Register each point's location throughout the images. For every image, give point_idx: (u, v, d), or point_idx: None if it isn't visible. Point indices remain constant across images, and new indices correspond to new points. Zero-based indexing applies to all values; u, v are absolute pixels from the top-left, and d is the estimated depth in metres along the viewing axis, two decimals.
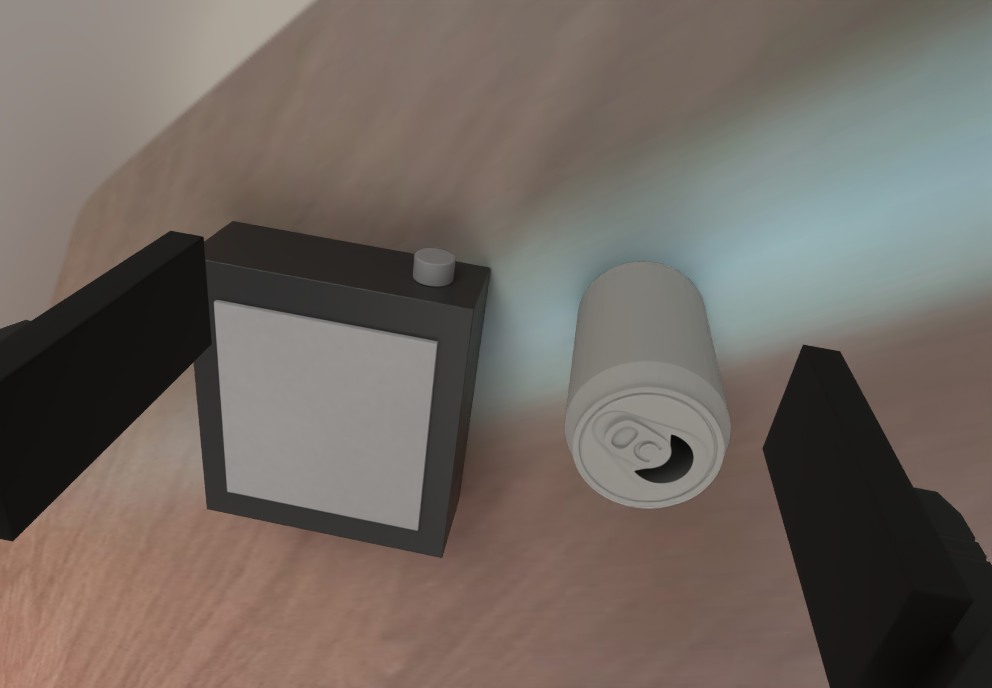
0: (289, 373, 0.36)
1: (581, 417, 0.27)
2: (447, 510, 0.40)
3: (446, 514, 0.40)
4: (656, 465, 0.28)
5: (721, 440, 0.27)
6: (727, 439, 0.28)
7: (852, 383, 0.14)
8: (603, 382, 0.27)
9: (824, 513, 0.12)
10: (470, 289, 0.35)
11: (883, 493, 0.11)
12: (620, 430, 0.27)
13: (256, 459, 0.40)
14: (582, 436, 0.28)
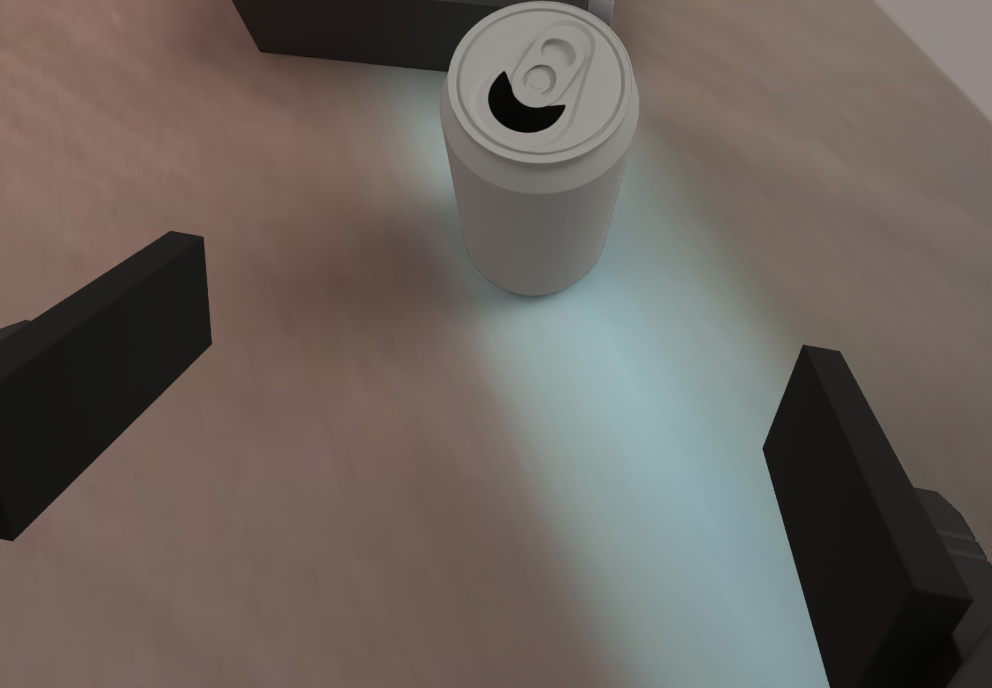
0: None
1: (578, 9, 0.23)
2: None
3: None
4: (517, 93, 0.22)
5: (565, 157, 0.21)
6: (542, 187, 0.22)
7: (852, 383, 0.14)
8: None
9: (824, 514, 0.12)
10: None
11: (883, 493, 0.11)
12: (563, 52, 0.23)
13: None
14: (549, 13, 0.23)
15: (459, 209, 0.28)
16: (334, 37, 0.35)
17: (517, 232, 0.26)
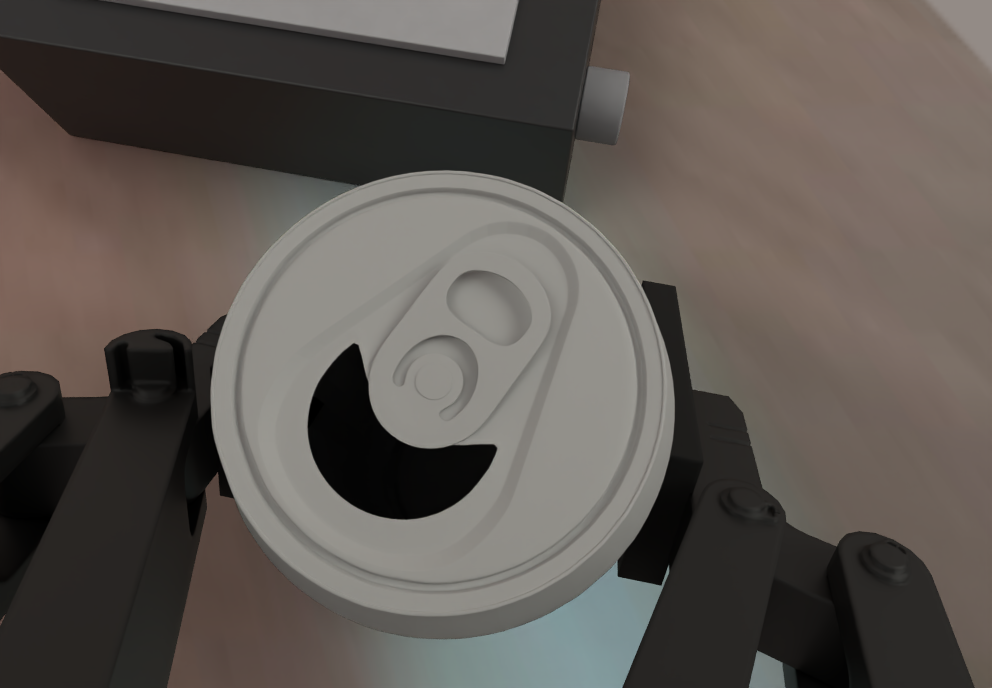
0: None
1: (545, 196, 0.10)
2: (90, 50, 0.19)
3: (80, 47, 0.19)
4: (380, 404, 0.09)
5: (485, 603, 0.08)
6: (433, 630, 0.09)
7: (674, 310, 0.16)
8: None
9: None
10: (570, 154, 0.20)
11: None
12: (502, 302, 0.09)
13: None
14: (478, 200, 0.10)
15: None
16: (173, 126, 0.22)
17: None
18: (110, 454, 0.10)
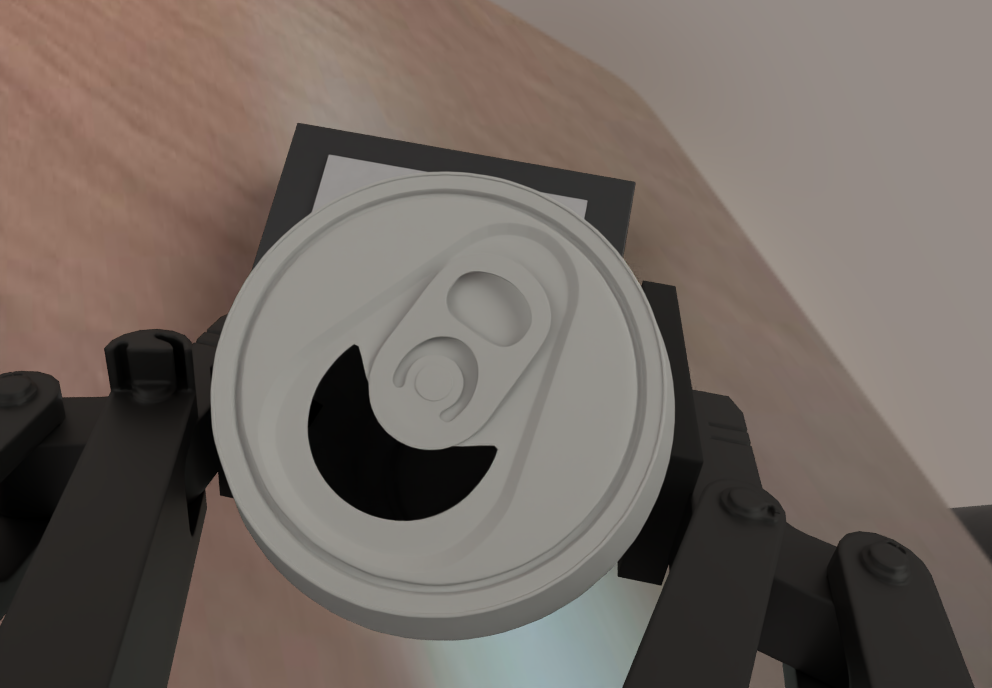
0: None
1: (545, 198, 0.10)
2: None
3: None
4: (380, 406, 0.09)
5: (485, 604, 0.08)
6: (433, 631, 0.09)
7: (674, 310, 0.16)
8: None
9: None
10: None
11: None
12: (502, 304, 0.09)
13: None
14: (478, 201, 0.10)
15: None
16: None
17: None
18: (111, 453, 0.10)
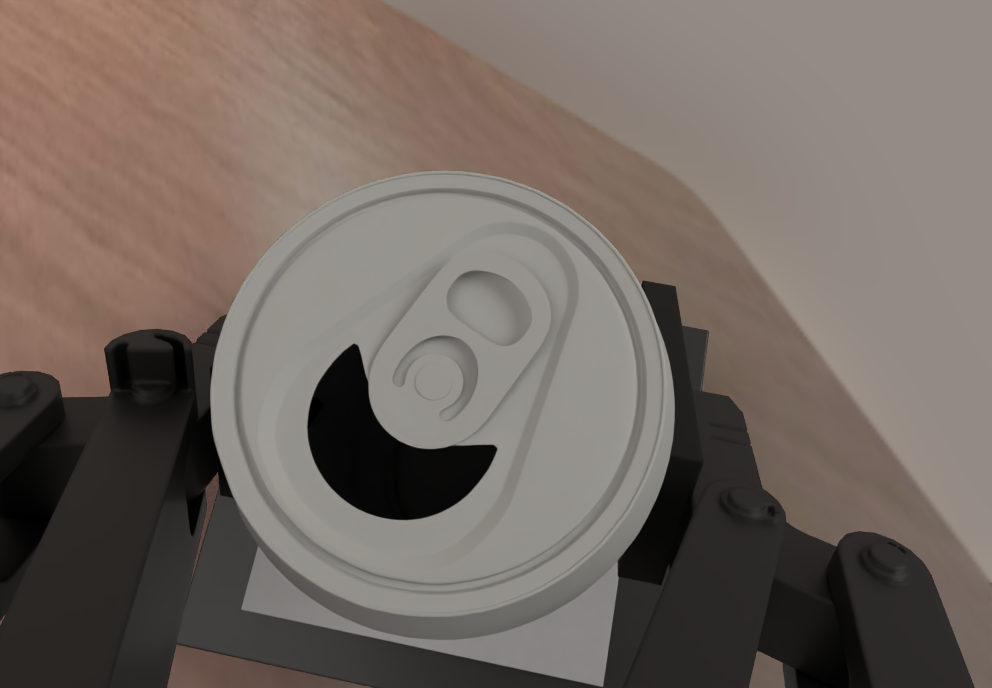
0: None
1: (544, 197, 0.10)
2: (278, 665, 0.24)
3: (270, 662, 0.24)
4: (380, 404, 0.09)
5: (484, 603, 0.08)
6: (433, 630, 0.09)
7: (674, 310, 0.16)
8: None
9: None
10: None
11: None
12: (502, 303, 0.09)
13: None
14: (478, 201, 0.10)
15: None
16: None
17: None
18: (111, 453, 0.10)
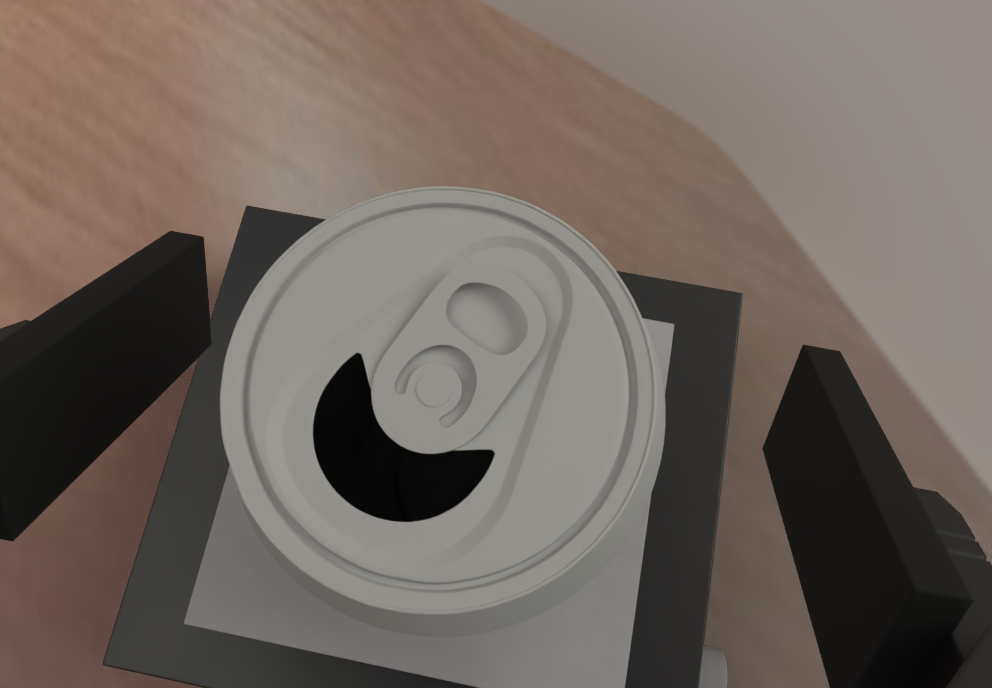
0: None
1: (540, 211, 0.10)
2: None
3: None
4: (383, 412, 0.09)
5: (483, 601, 0.09)
6: (434, 628, 0.10)
7: (852, 383, 0.14)
8: None
9: (825, 514, 0.12)
10: None
11: (883, 493, 0.11)
12: (499, 313, 0.10)
13: None
14: (475, 215, 0.10)
15: None
16: None
17: None
18: None
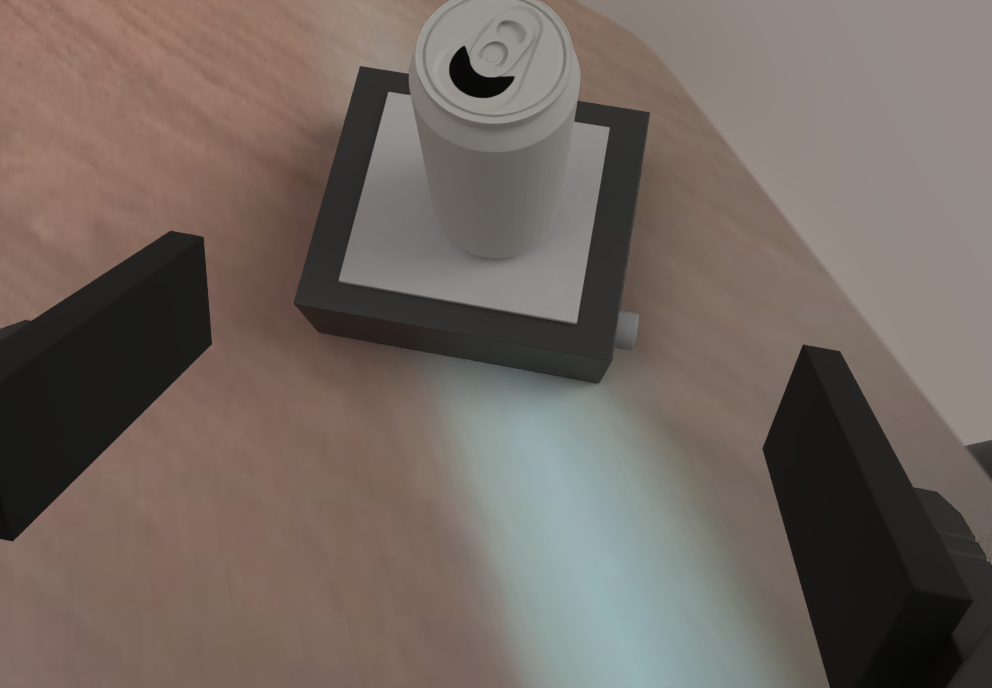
0: None
1: None
2: (363, 315, 0.36)
3: (358, 314, 0.36)
4: (474, 64, 0.26)
5: (511, 120, 0.25)
6: (492, 146, 0.26)
7: (852, 383, 0.14)
8: None
9: (825, 514, 0.12)
10: None
11: (883, 493, 0.11)
12: (516, 32, 0.26)
13: None
14: None
15: (426, 172, 0.32)
16: (387, 337, 0.39)
17: (474, 190, 0.29)
18: None
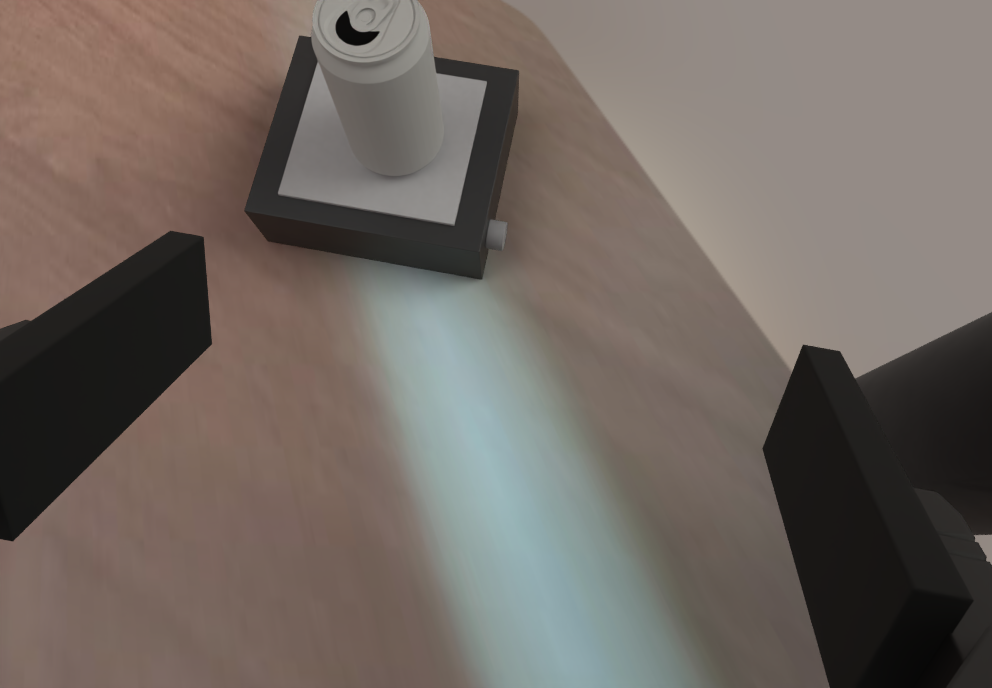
0: None
1: None
2: (296, 219, 0.48)
3: (292, 218, 0.48)
4: (352, 23, 0.38)
5: (375, 60, 0.37)
6: (365, 79, 0.38)
7: (852, 383, 0.14)
8: None
9: (824, 513, 0.12)
10: (482, 256, 0.50)
11: (883, 493, 0.11)
12: (382, 2, 0.38)
13: None
14: None
15: None
16: (318, 241, 0.51)
17: (362, 115, 0.41)
18: None
